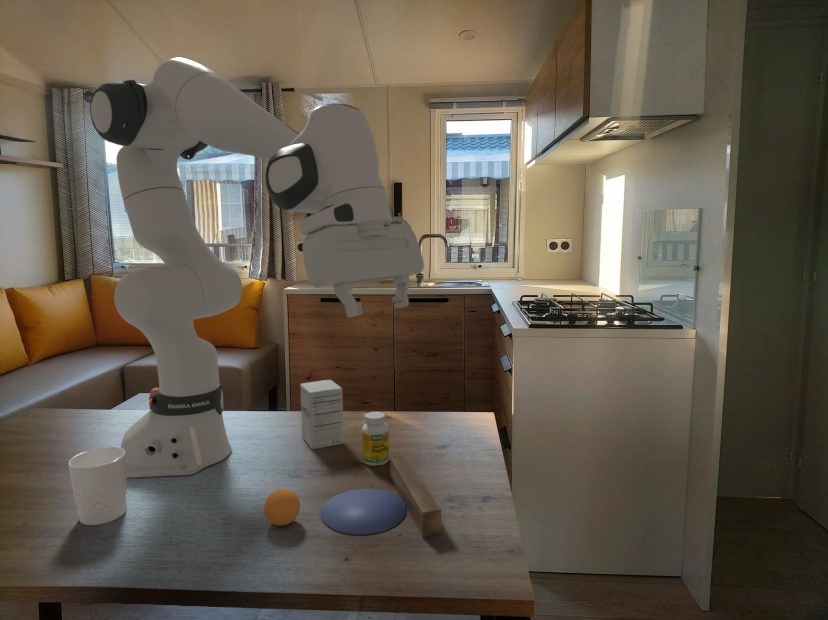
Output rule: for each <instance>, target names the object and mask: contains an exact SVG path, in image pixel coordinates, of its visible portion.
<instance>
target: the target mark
mask: <svg viewBox="0 0 828 620" xmlns="http://www.w3.org/2000/svg"><path fill="white" fill-rule="evenodd" d="M406 514H407V508H406V505H405V503H404V502H403V500H402V499H401V497H400V496H398V495H396V494H395V493H393V492H390V491H387V490H382V489H377V488H359V489H357V488H356V489H351V490H348V491H344V492H341V493H339V494H336V495H334V496H332V497H331V498H329V499H328V500H327V501H325V503H324V504H323V506H322V508H321V511H320V518H321V520H323V521H322V522H323V524H325V526H326V527H328V526H329V527H330V528H329V527H328V528H329V529H331V528H332V529H331V530H333V529H334V530H333V531H335V530H336V532H338V533H341V534H346V535H354V536H363V535H364V536H366V535H367V536H368V535H374V534H378V533H382V532H385V531H388V530H390V529H392V528H394V527H395V526H397V525H398V524H400V523H401V522H402V521H403V520H404V518H405V516H406Z"/></svg>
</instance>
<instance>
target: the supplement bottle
mask: <svg viewBox="0 0 828 620" xmlns="http://www.w3.org/2000/svg"><path fill="white" fill-rule="evenodd" d="M364 422H365V423H364V424H363V426H362V427H361V442H362V443H361V446H362V451H361V453H362V462H363V463H364V464H365V465H368V466H371V467H377V465H379V466H383V465H385V464H387V463H388V461H390V432H389V431H390V429H389V425H388V424H387V423H386V414H385V413H384V412H381V411H370V412H367V413H365V415H364Z"/></svg>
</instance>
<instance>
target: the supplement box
mask: <svg viewBox="0 0 828 620" xmlns="http://www.w3.org/2000/svg"><path fill="white" fill-rule="evenodd" d="M343 408H344V407H343V387H342V386H340V385H339V384H337V382H335V381H333V380H332V379H325V380H324V379H323V380H317V381H310V382H303V383H300V413H301V414H300V415H301V438H302V439H303V440H304V441H305V442H306V443H307V445H308V446H309V447H310V448H311V450H318V449H321V448H329V447H333V446H337V445H342V444H344V415H343V414H344V409H343Z"/></svg>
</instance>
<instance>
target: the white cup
mask: <svg viewBox="0 0 828 620" xmlns="http://www.w3.org/2000/svg"><path fill="white" fill-rule="evenodd" d="M67 463H68V469H69V475H70V476H69V477H70V480H71V481H70V482H71V487H72V493H73V498H74V503H75V506H76V510H77V515H78V520H79V523H80V524H82V525H85V526H98V525H105V524H107V523H111V522H113V521H115V520H117V519H119V518H120V517H122V516H123V515H124V514H125V513H126V511H127V510H128V509H127V490H128V489H127V478H126V457H125V450H124V449H122V448H121V447H117V446H106V447H97V448H93V449H89V450H86V451H83V452H80V453H78V454H76V455H74V456H72V457H71V458H70V459H69V460H68V462H67Z"/></svg>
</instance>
